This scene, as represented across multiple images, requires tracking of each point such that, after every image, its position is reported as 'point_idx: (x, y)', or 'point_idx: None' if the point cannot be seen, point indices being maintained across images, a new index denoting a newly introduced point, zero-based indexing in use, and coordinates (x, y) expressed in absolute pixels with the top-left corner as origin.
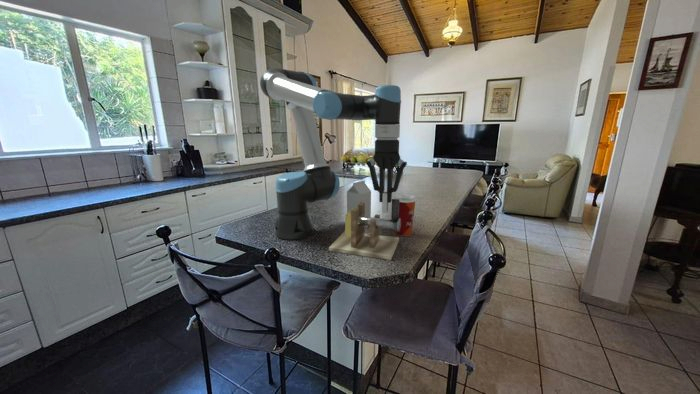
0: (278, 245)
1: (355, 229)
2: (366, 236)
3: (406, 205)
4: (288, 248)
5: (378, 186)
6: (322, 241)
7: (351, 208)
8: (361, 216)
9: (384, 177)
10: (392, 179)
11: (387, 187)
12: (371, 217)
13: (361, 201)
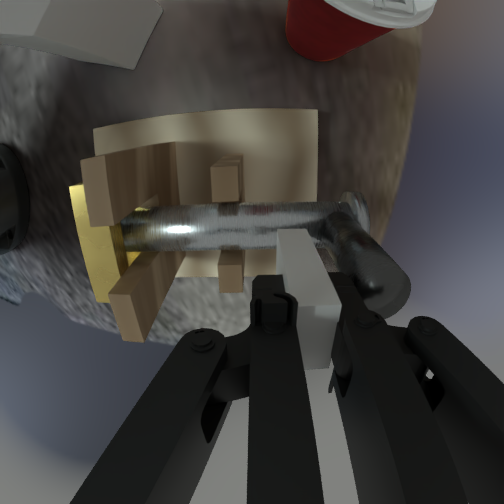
0: (23, 279)
1: (168, 287)
2: (185, 142)
3: (386, 28)
4: (45, 287)
5: (223, 374)
6: (72, 220)
7: (51, 50)
8: (149, 234)
9: (315, 480)
10: (435, 419)
11: (343, 411)
12: (205, 232)
13: (70, 29)
